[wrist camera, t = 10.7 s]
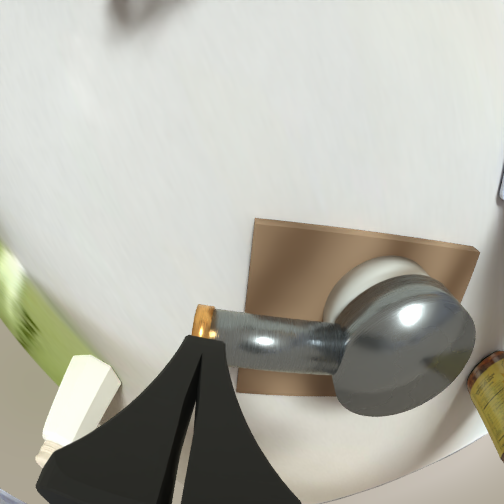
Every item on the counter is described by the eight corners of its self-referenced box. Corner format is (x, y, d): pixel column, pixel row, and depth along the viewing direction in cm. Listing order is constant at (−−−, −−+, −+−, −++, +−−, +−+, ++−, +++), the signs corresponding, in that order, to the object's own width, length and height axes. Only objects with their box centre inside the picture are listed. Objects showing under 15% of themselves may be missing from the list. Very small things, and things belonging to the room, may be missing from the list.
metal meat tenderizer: (473, 281, 16) (499, 308, 13) (419, 382, 19) (433, 412, 16) (205, 243, 15) (194, 273, 12) (196, 370, 19) (188, 406, 16)
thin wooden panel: (472, 246, 19) (501, 269, 16) (410, 384, 25) (423, 413, 21) (254, 218, 18) (254, 242, 15) (237, 383, 24) (234, 418, 21)
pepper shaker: (101, 398, 26) (64, 487, 16) (61, 363, 25) (11, 450, 15) (133, 384, 25) (96, 488, 15) (89, 344, 23) (33, 446, 13)
